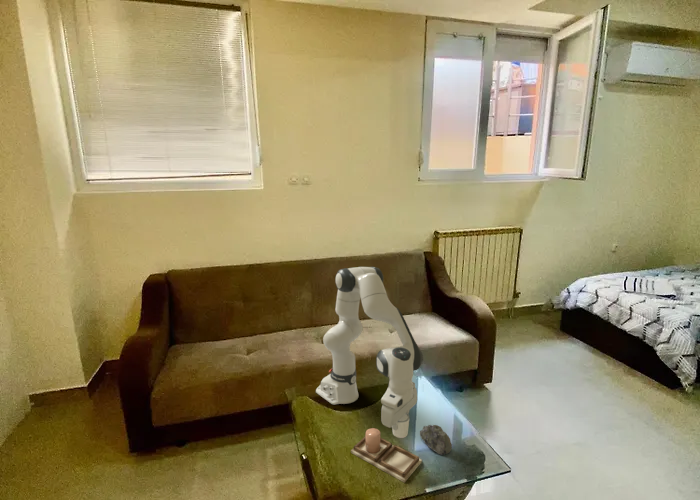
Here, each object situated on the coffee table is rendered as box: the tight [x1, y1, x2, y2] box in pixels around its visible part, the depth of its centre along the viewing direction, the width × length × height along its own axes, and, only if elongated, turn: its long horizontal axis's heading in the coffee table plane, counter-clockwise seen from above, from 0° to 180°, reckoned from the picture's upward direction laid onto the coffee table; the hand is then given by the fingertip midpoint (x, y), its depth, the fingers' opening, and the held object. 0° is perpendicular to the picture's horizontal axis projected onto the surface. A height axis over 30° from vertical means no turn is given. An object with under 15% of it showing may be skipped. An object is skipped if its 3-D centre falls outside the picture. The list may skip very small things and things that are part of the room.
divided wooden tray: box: [350, 435, 423, 483], centre depth 155 cm, size 25×13×2 cm, turn 52°
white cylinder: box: [391, 413, 411, 439], centre depth 148 cm, size 7×7×7 cm
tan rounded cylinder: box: [365, 427, 381, 454], centre depth 158 cm, size 6×6×7 cm
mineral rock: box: [419, 424, 453, 456], centre depth 161 cm, size 13×11×10 cm
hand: (400, 424), depth 148 cm, fingers closed on white cylinder, 5 cm apart
